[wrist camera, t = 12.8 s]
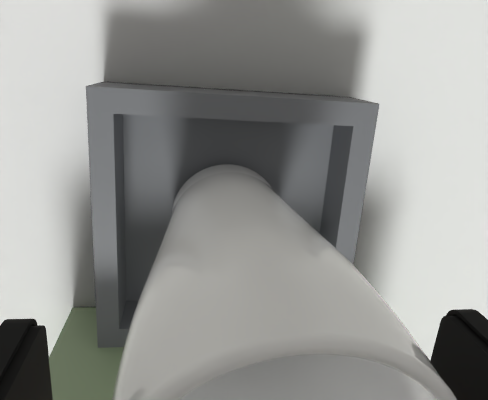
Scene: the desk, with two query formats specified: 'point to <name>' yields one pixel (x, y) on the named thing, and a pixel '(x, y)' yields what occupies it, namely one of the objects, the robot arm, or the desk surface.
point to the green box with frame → (178, 172)
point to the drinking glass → (262, 309)
